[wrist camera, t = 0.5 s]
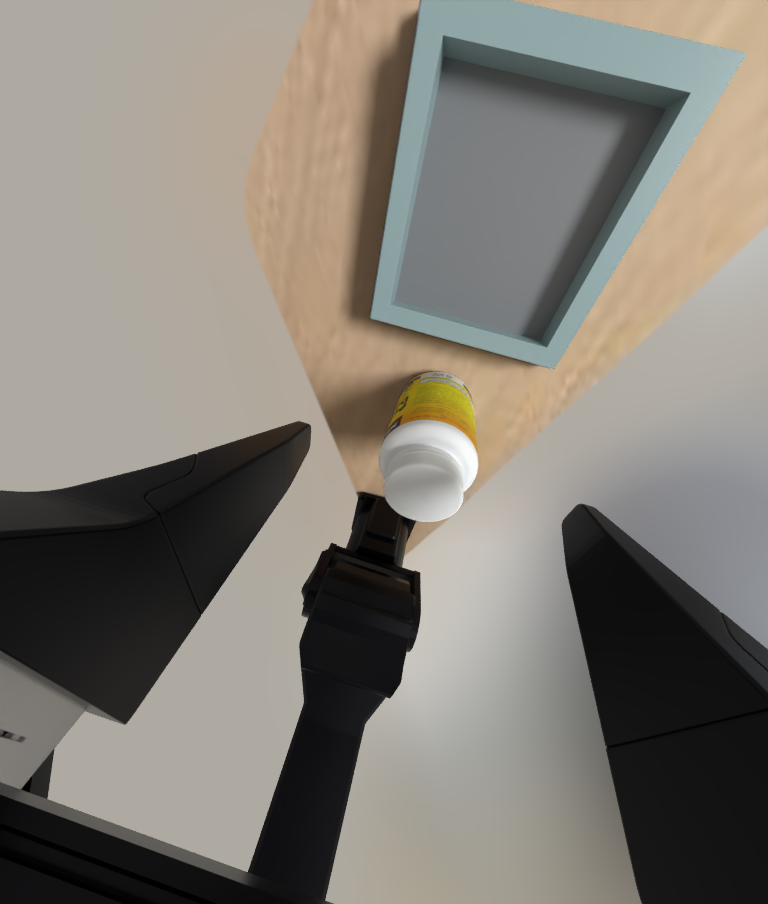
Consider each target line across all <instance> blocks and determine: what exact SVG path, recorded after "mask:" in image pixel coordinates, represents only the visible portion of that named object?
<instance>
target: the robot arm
mask: <svg viewBox="0 0 768 904" xmlns="http://www.w3.org/2000/svg"><path fill="white" fill-rule="evenodd" d="M310 439H311V426H310V425H309V424H307V423H304V422H300V421H298V422H294V423H291V424H288V425H285V426H281V427H278V428H275V429H272V430H269V431H266V432H262V433H259V434H256V435H253V436H250V437H247V438H243V439H240V440H237V441H234V442H231V443H228V444H225V445H221V446H218V447H215V448H212V449H209V450H205V451H202V452H199V453H198V454H193V455H190V456H187V457H183V458H180V459H176V460H174V461H170V462H167V463H163V464H160V465H156V466H152V467H148V468H145V469H141V470H137V471H133V472H129V473H125V474H121V475H117V476H113V477H109V478H105V479H101V480H97V481H93V482H89V483H85V484H81V485H77V486H73V487H69V488H64V489H57V490H51V491H40V492H15V491H0V904H333V903H330V902H327V901H325V898H326V894H327V890H328V885H329V881H330V876H331V872H332V868H333V863H334V858H335V854H336V850H337V845H338V841H339V837H340V832H341V828H342V823H343V819H344V814H345V810H346V805H347V801H348V796H349V792H350V788H351V783H352V779H353V775H354V770H355V766H356V761H357V757H358V752H359V748H360V743H361V739H362V735H363V731H364V727H365V724H366V722H367V721H368V719H369V718H370V717H371V716H372V714H373V713H374V712H375V710H376V709H377V708H378V707H379V705H380V704H381V703H382V702H383V700H384V699H385V698H386V697H387V698H391V696H392V695H393V694H394V692H395V691H396V689H397V688H398V686H399V685H400V683H401V679H402V672H403V665H404V661H405V656H406V652H410V651H411V649H412V648H413V645H414V643H415V640H416V636H417V633H418V628H419V623H420V615H421V594H420V572H417V571H411V570H408V569H405V568H402V565H403V559H404V553H405V547H406V543H407V540H408V538H409V536H410V534H411V531H412V529H413V527H414V525H415V522H416V521H415V520H412V519H409V518H406V517H404V516H402V515H400V514H399V513H397V512H396V511H395V510H394V509H393V508H392V507H391V506H390V505H389V504H388V502H387V500H386V499H383V498H380V497H377V496H374V495H370V494H367V493H360V495H359V497H358V502H357V506H356V511H355V516H354V520H353V525H352V533H351V536H350V539H349V542H348V544H347V547H346V549H345V548H342V547H339V546H337V545H336V544H333V543H331V545H330V547H329V549H328V550H327V549H326V551H322V553H321V555H320V558H319V560H318V562H317V564H316V566H315V568H314V570H313V571H312V573H311V574H310V576H309V578H308V579H307V581H306V582H305V584H304V586H303V588H302V591H301V592H302V595H303V598H304V602H303V605H304V607H303V611H302V616H304V617H307V618H308V621H307V623H306V626H305V629H304V632H303V634H302V637H301V640H300V646H299V648H300V659H301V671H302V682H303V694H304V705H303V708H302V711H301V714H300V717H299V720H298V723H297V726H296V729H295V732H294V735H293V738H292V741H291V744H290V747H289V750H288V753H287V756H286V759H285V762H284V765H283V768H282V771H281V774H280V777H279V780H278V783H277V786H276V789H275V792H274V795H273V798H272V801H271V804H270V807H269V810H268V813H267V816H266V819H265V822H264V825H263V828H262V831H261V834H260V837H259V841H258V843H257V846H256V849H255V853H254V855H253V858H252V861H251V865H250V867H249V870H248V872H245V871H242V870H240V869H237V868H234V867H231V866H229V865H226V864H223V863H220V862H218V861H215V860H212V859H209V858H206V857H204V856H201V855H198V854H196V853H193V852H190V851H187V850H185V849H182V848H179V847H176V846H174V845H171V844H168V843H166V842H163V841H160V840H157V839H154V838H152V837H149V836H146V835H144V834H141V833H138V832H135V831H133V830H130V829H127V828H124V827H122V826H119V825H116V824H114V823H111V822H108V821H105V820H103V819H100V818H97V817H94V816H92V815H89V814H86V813H83V812H81V811H78V810H75V809H72V808H70V807H67V806H64V805H62V804H58V803H56V802H53V801H51V800H48V799H47V797H48V791H49V783H50V776H51V769H52V761H53V755H54V748H55V747H56V746H57V744H58V743H59V742H60V741H61V739H62V738H63V737H64V736H65V734H66V733H67V732H68V731H69V730H70V728H71V727H72V726H73V725H74V723H75V722H76V721H77V720H78V719H79V717H80V716H81V715H82V714H83V712H84V711H86V712H89V713H92V714H95V715H98V716H100V717H104V718H106V719H109V720H112V721H115V722H118V723H121V724H124V725H125V724H126V723H127V722H128V721H129V720H130V718H131V717H132V716H133V714H134V713H135V712H136V710H137V708H138V707H139V706H140V704H141V703H142V701H143V700H144V698H145V697H146V695H147V694H148V693H149V691H150V690H151V688H152V687H153V685H154V684H155V682H156V681H157V680H158V678H159V676H160V675H161V674H162V672H163V671H164V669H165V668H166V666H167V665H168V663H169V662H170V661H171V659H172V658H173V656H174V655H175V653H176V652H177V650H178V649H179V648H180V646H181V644H182V643H183V642H184V640H185V639H186V637H187V636H188V634H189V633H190V632H191V630H192V628H193V627H194V626H195V624H196V623H197V621H198V620H199V618H200V617H201V614H203V612H204V611H205V609H206V608H207V606H208V605H209V603H210V602H211V601H212V599H213V598H214V596H215V595H216V593H217V592H218V590H219V589H220V587H221V586H222V585H223V583H224V582H225V580H226V579H227V577H228V576H229V574H230V573H231V572H232V570H233V569H234V567H235V566H236V564H237V563H238V561H239V560H240V558H241V557H242V556H243V554H244V553H245V551H246V550H247V548H248V547H249V545H250V544H251V542H252V541H253V539H254V538H255V537H256V535H257V534H258V532H259V531H260V529H261V528H262V526H263V525H264V523H265V522H266V521H267V519H268V517H269V516H270V515H271V513H272V512H273V510H274V509H275V508H276V506H277V505H278V503H279V502H280V500H281V499H282V497H283V496H284V494H285V493H286V492H287V490H288V488H289V487H290V485H291V483H292V481H293V479H294V478H295V476H296V474H297V472H298V470H299V468H300V466H301V464H302V462H303V460H304V458H305V457H306V455H307V453H308V451H309V448H310ZM363 497H364V498H363ZM562 535H563V544H564V553H565V561H566V569H567V575H568V580H569V584H570V589H571V593H572V598H573V602H574V607H575V611H576V616H577V620H578V624H579V629H580V633H581V638H582V642H583V647H584V651H585V656H586V660H587V664H588V669H589V674H590V678H591V683H592V687H593V691H594V696H595V701H596V705H597V710H598V714H599V719H600V723H601V728H602V732H603V736H604V741H605V745H606V747H607V748H606V751H607V756H608V760H609V765H610V769H611V774H612V778H613V783H614V787H615V792H616V796H617V801H618V805H619V809H620V814H621V819H622V823H623V828H624V832H625V837H626V841H627V846H628V850H629V855H630V859H631V863H632V868H633V873H634V877H635V882H636V886H637V890H638V893H639V896H640V900H641V903H642V904H768V649H767V648H765V647H764V646H763V645H762V644H760V643H759V642H758V641H757V640H755V639H754V638H753V637H752V636H751V635H749V634H748V633H746V632H745V631H744V630H743V629H741V627H739V626H738V625H737V624H736V623H735V622H733V621H732V620H731V619H730V618H728V617H727V616H726V615H725V614H723V613H721V612H720V611H719V609H717V608H716V607H715V606H714V605H713V604H711V603H710V602H709V601H708V600H706V599H705V598H704V597H703V596H701V595H700V594H699V593H698V592H697V591H696V590H694V589H693V588H692V587H691V586H689V585H688V584H687V583H686V582H685V581H683V580H682V579H681V578H680V577H678V576H677V575H676V574H675V573H674V572H672V571H671V570H670V569H669V568H668V567H666V566H665V565H664V564H663V563H661V562H660V561H659V560H658V559H657V558H655V557H654V556H653V555H652V554H651V553H649V552H648V551H647V550H646V549H644V548H643V547H642V546H641V545H640V544H638V543H637V542H636V541H635V540H633V539H632V538H631V537H630V536H629V535H627V534H626V533H625V532H624V531H622V530H621V529H620V528H619V527H618V526H616V525H615V524H614V523H613V522H612V521H610V520H609V519H608V518H607V517H605V516H604V515H603V514H602V513H600V512H599V511H598V510H597V509H596V508H594V507H592V506H588V505H585V504H578V505H577V506H576V507H575V508H574V509H573V510H572V511H571V512H570V513H569V514H568V515H567V516H566V517H565V519H564V520H563V522H562Z"/></svg>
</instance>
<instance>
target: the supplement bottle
mask: <svg viewBox="0 0 768 904" xmlns="http://www.w3.org/2000/svg"><path fill="white" fill-rule="evenodd" d="M379 466H380V470H381V472H382V475H383V477H384V478H385V483H384V495H385V498H386V500H387V502H388V504H389V505H390V506H391V507H392V508H393V509H394V510H395V511H396V512H397V513H399V514H400V515H402V516H404V517H406V518H409V519H412V520H415V521H421V522H435V521H440V520H443V519H446V518H448V517H450V516H452V515H453V514H454V513H455V512H456V511H457V510H458V509H459V508H460V506H461V504H462V501H463V492H464V491H466V490H467V489H468V488H469V487H470V486H471V484H472V483H473V481H474V479H475V477H476V474H477V470H478V453H477V443H476V433H475V422H474V411H473V402H472V397H471V394H470V392H469V390H468V388H467V386H466V385H465V384H464V383H463V382H462V381H461V380H460V379H458V378H457V377H455V376H453V375H451V374H448V373H445V372H428V373H424V374H421V375H419V376H417V377H415V378H414V379H412V380H411V381H410V382H409V383H408V384H407V385H406V386H405V388H404V390H403V391H402V393H401V396H400V398H399V401H398V404H397V406H396V409H395V411H394V414H393V417H392V419H391V422H390V424H389V427H388V430H387V432H386V435H385V438H384V440H383V443H382V446H381V449H380V453H379Z"/></svg>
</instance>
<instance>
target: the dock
mask: <svg viewBox="0 0 768 904" xmlns="http://www.w3.org/2000/svg"><path fill="white" fill-rule="evenodd" d="M746 54H747V53H744V52H740V51H735V50H731V49H726V48H722V47H717V46H713V45H708V44H704V43H700V42H695V41H691V40H686V39H682V38H677V37H673V36H668V35H664V34H660V33H655V32H651V31H646V30H642V29H637V28H633V27H628V26H624V25H620V24H615V23H611V22H606V21H602V20H597V19H593V18H588V17H584V16H580V15H575V14H571V13H566V12H562V11H557V10H553V9H548V8H544V7H540V6H535V5H531V4H526V3H522V2H517V1H513V0H420V1H419V8H418V14H417V20H416V27H415V33H414V39H413V46H412V52H411V58H410V64H409V71H408V77H407V83H406V90H405V96H404V102H403V109H402V115H401V121H400V127H399V134H398V140H397V146H396V153H395V159H394V165H393V172H392V178H391V184H390V191H389V197H388V203H387V209H386V216H385V222H384V228H383V235H382V241H381V247H380V254H379V260H378V266H377V272H376V279H375V285H374V291H373V298H372V304H371V310H370V317H369V319H373V320H377V321H380V322H384V323H387V324H391V325H395V326H398V327H402V328H406V329H409V330H413V331H416V332H420V333H424V334H427V335H431V336H434V337H438V338H442V339H445V340H449V341H452V342H456V343H460V344H463V345H467V346H470V347H474V348H478V349H481V350H485V351H488V352H492V353H496V354H499V355H503V356H506V357H510V358H514V359H517V360H521V361H524V362H528V363H532V364H535V365H539V366H542V367H546V368H552V369H555V367H556V366H557V364H558V362H559V361H560V359H561V357H562V356H563V354H564V352H565V351H566V349H567V348H568V346H569V344H570V343H571V341H572V339H573V338H574V336H575V334H576V333H577V331H578V329H579V328H580V326H581V325H582V323H583V321H584V320H585V318H586V316H587V315H588V313H589V311H590V310H591V308H592V307H593V305H594V303H595V302H596V300H597V298H598V297H599V295H600V293H601V292H602V290H603V289H604V287H605V285H606V284H607V282H608V280H609V279H610V277H611V275H612V274H613V272H614V271H615V269H616V267H617V266H618V264H619V262H620V261H621V259H622V257H623V256H624V254H625V253H626V251H627V249H628V248H629V246H630V244H631V243H632V241H633V239H634V238H635V236H636V235H637V233H638V231H639V230H640V228H641V226H642V225H643V223H644V221H645V220H646V218H647V217H648V215H649V213H650V212H651V210H652V208H653V207H654V205H655V203H656V202H657V200H658V198H659V197H660V195H661V194H662V192H663V190H664V189H665V187H666V185H667V184H668V182H669V180H670V179H671V177H672V176H673V174H674V172H675V171H676V169H677V167H678V166H679V164H680V162H681V161H682V159H683V158H684V156H685V154H686V153H687V151H688V149H689V148H690V146H691V144H692V143H693V141H694V140H695V138H696V136H697V135H698V133H699V131H700V130H701V128H702V126H703V125H704V123H705V122H706V120H707V118H708V117H709V115H710V113H711V112H712V110H713V108H714V107H715V105H716V104H717V102H718V100H719V99H720V97H721V95H722V94H723V92H724V90H725V89H726V87H727V85H728V84H729V82H730V81H731V79H732V77H733V76H734V74H735V72H736V71H737V69H738V67H739V66H740V64H741V63H742V61H743V59H744V58H745V56H746Z"/></svg>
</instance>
